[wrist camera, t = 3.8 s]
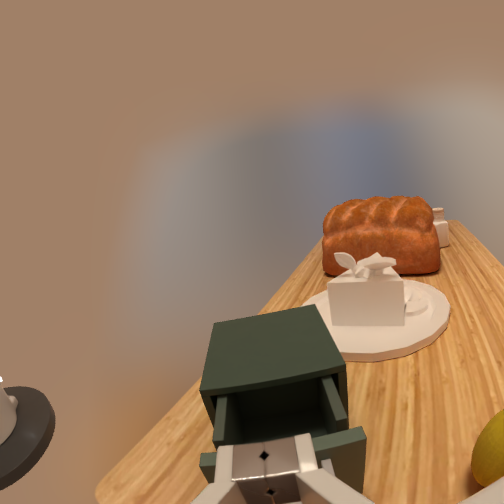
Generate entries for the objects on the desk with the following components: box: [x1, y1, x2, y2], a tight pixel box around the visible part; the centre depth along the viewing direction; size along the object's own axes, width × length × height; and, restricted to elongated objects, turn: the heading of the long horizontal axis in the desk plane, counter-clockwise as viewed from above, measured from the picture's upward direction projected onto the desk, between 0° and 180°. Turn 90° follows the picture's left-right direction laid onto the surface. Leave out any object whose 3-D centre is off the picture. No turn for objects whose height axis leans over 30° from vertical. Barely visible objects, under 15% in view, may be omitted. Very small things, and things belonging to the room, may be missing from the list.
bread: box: [322, 196, 440, 276], centre depth 64 cm, size 14×26×16 cm, turn 57°
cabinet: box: [199, 304, 349, 429], centre depth 29 cm, size 12×11×9 cm
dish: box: [300, 252, 450, 362], centre depth 45 cm, size 25×25×11 cm
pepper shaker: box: [432, 208, 449, 248], centre depth 68 cm, size 4×4×10 cm
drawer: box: [199, 375, 367, 504], centre depth 20 cm, size 16×10×7 cm, turn 1°
